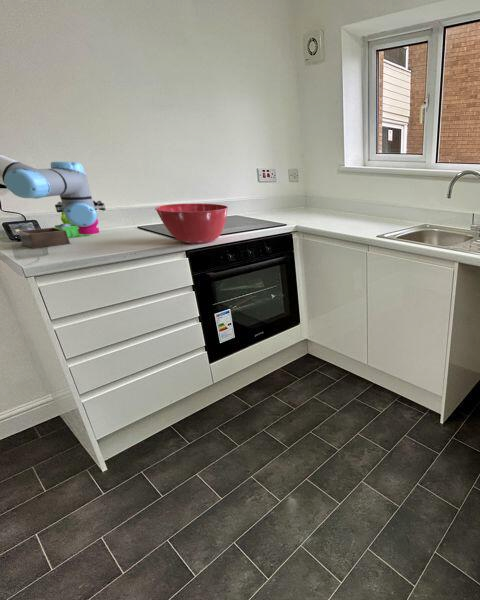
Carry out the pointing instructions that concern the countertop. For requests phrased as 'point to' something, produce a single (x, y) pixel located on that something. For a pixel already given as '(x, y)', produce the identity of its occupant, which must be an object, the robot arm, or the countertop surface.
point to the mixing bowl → (194, 221)
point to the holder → (43, 237)
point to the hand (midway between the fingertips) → (81, 202)
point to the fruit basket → (69, 227)
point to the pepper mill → (89, 229)
